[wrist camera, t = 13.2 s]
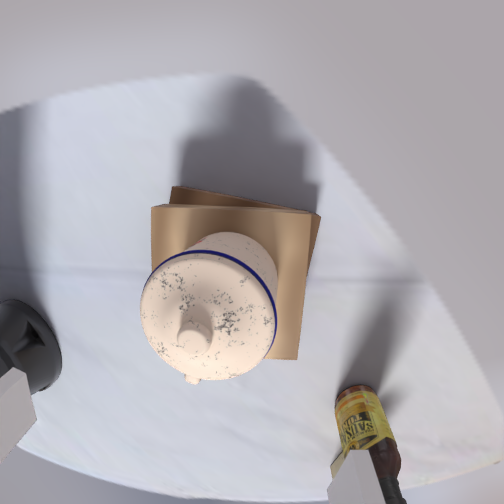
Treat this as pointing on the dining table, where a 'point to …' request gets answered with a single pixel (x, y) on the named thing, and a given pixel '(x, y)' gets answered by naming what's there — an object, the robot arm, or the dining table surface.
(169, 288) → the teacup with lid
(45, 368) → the robot arm
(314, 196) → the dining table surface
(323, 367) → the dining table surface
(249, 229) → the tower top block
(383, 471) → the sauce bottle
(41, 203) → the dining table surface
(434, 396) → the dining table surface
